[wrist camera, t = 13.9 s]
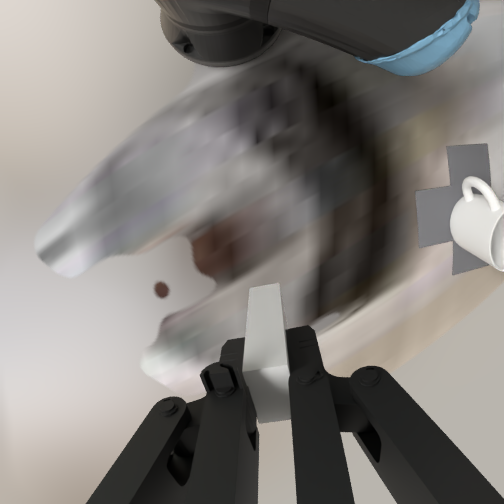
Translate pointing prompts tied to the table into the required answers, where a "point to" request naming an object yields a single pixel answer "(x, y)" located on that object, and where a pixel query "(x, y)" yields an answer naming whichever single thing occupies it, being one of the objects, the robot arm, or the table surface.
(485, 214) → the mug
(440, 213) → the t mat
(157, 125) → the table surface
